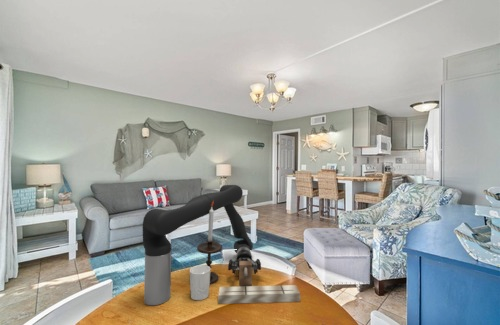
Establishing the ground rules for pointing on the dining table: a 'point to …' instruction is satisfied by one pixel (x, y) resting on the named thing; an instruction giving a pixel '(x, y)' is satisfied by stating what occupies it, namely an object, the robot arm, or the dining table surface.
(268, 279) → the dining table surface
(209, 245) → the candlestick
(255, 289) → the batten
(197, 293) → the white cup
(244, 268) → the upright wooden pillar
